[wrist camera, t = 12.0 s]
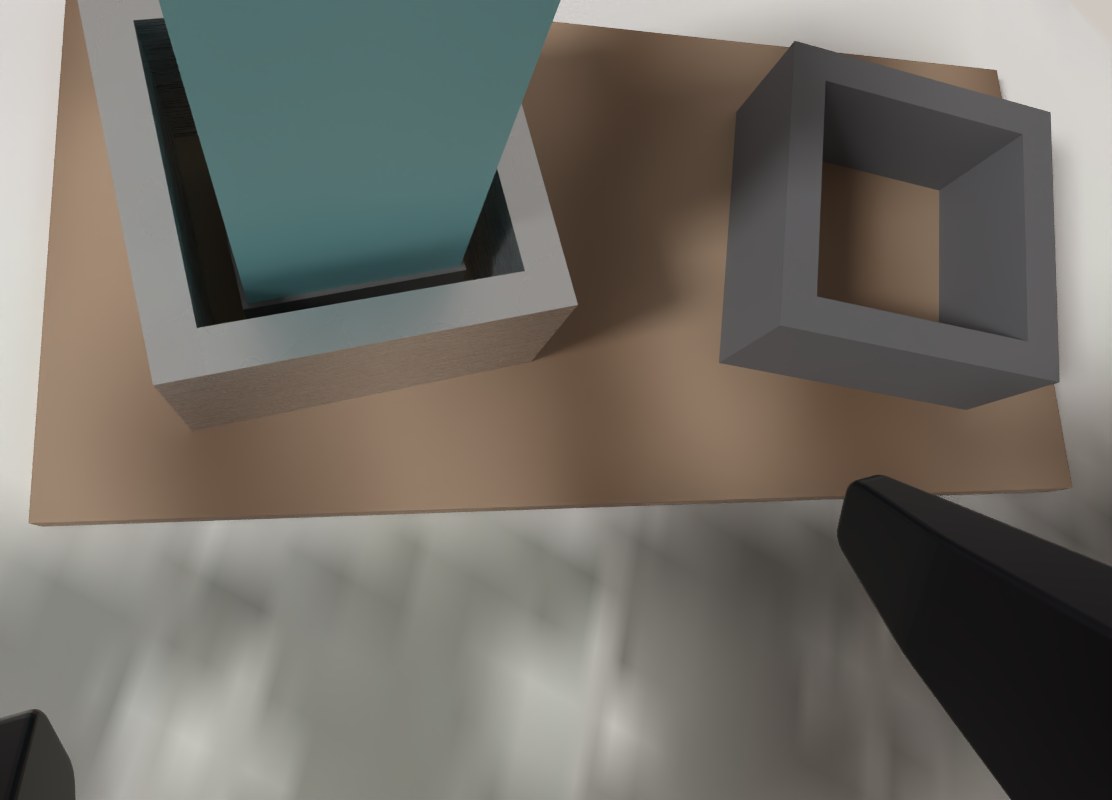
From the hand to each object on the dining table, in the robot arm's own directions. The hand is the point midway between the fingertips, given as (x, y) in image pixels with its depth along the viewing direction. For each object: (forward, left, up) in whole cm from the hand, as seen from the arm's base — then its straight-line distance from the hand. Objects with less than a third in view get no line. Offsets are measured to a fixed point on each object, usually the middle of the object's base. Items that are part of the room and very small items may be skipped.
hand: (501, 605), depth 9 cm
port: (+4, +7, -9) cm, 12 cm away
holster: (+14, -1, -9) cm, 16 cm away
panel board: (+9, +3, -10) cm, 13 cm away
